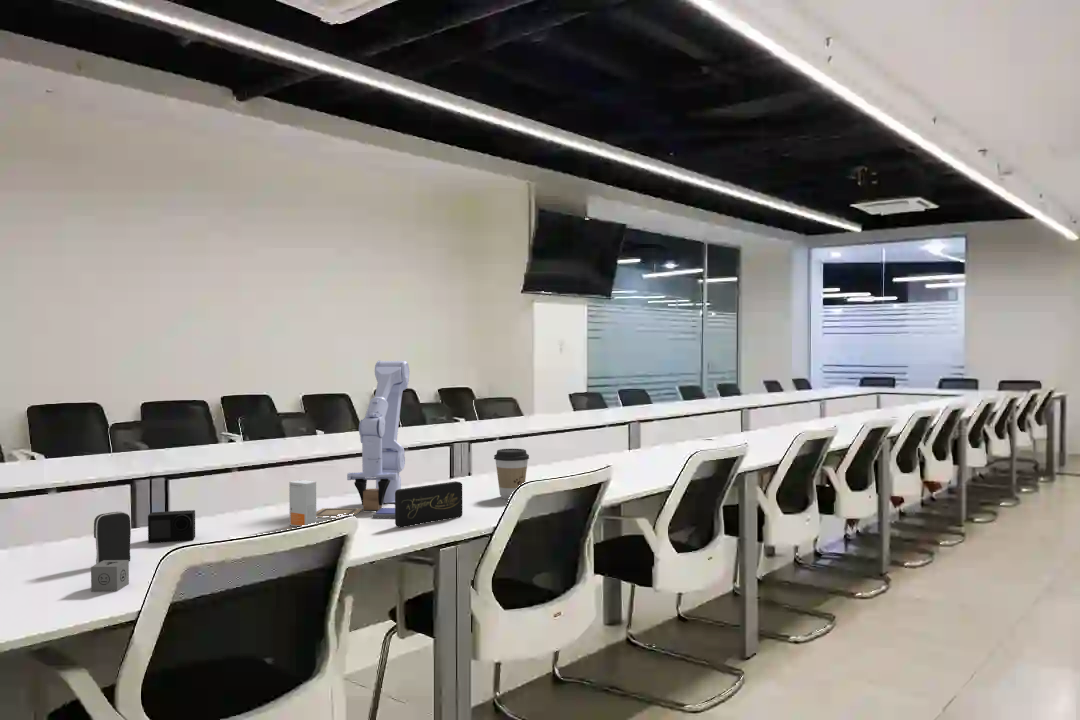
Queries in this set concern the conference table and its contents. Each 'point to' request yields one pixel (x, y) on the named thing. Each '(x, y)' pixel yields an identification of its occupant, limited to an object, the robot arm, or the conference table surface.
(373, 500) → the block
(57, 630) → the conference table surface
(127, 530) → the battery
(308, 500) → the skincare box
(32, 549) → the conference table surface
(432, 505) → the nameplate
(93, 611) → the conference table surface
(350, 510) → the print card
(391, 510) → the ink pad
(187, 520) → the digital camera
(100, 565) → the dice cube
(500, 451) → the coffee cup
